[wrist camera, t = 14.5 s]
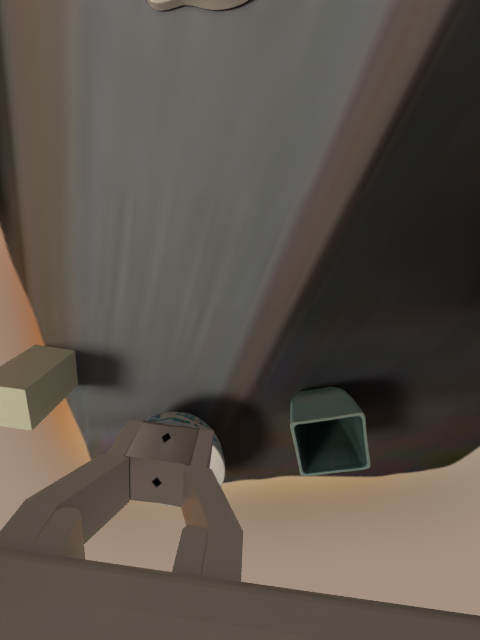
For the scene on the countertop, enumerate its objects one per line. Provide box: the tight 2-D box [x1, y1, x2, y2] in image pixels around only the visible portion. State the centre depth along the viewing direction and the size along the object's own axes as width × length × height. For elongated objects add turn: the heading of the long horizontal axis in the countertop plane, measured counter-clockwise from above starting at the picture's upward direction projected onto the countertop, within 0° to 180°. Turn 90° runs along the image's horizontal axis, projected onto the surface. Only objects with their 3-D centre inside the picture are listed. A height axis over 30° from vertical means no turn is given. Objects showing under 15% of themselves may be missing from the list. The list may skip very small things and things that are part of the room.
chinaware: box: [146, 412, 225, 507], centre depth 44 cm, size 15×15×8 cm
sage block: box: [0, 345, 78, 430], centre depth 39 cm, size 6×6×10 cm
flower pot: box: [290, 387, 370, 476], centre depth 40 cm, size 9×9×9 cm
